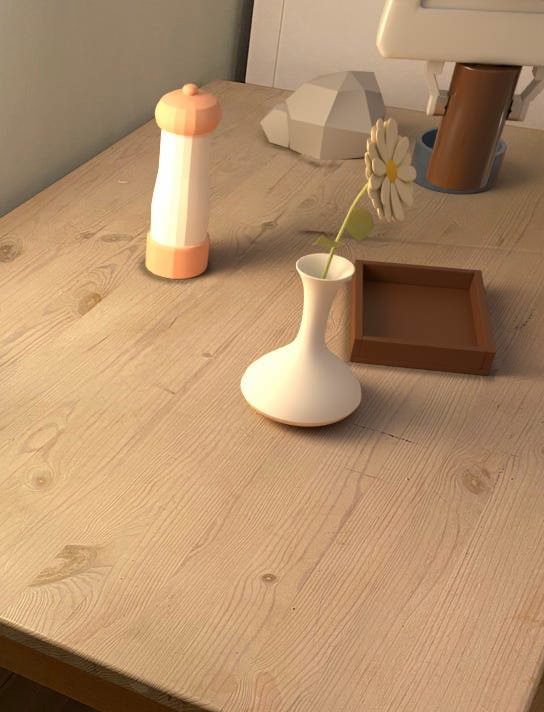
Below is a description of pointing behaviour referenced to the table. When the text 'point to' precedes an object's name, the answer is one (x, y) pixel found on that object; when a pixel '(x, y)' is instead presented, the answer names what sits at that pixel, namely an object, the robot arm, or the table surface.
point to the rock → (328, 116)
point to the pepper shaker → (182, 184)
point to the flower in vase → (330, 303)
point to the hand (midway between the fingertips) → (474, 116)
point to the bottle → (472, 125)
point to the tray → (420, 317)
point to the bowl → (424, 154)
